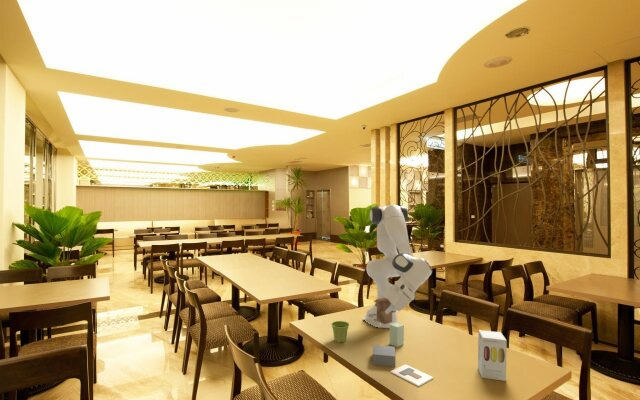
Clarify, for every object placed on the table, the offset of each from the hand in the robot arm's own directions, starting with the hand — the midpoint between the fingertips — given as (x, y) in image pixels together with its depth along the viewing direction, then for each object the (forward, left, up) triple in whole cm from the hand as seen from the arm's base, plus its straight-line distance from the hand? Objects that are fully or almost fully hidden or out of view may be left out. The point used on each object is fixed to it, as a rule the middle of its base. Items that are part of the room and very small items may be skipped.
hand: (383, 309), depth 153 cm
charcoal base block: (0, 0, -24) cm, 24 cm away
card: (+16, -1, -23) cm, 28 cm away
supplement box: (+36, +27, -24) cm, 51 cm away
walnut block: (0, +1, -5) cm, 5 cm away
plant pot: (-29, -1, -24) cm, 37 cm away
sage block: (-8, +19, -23) cm, 31 cm away
